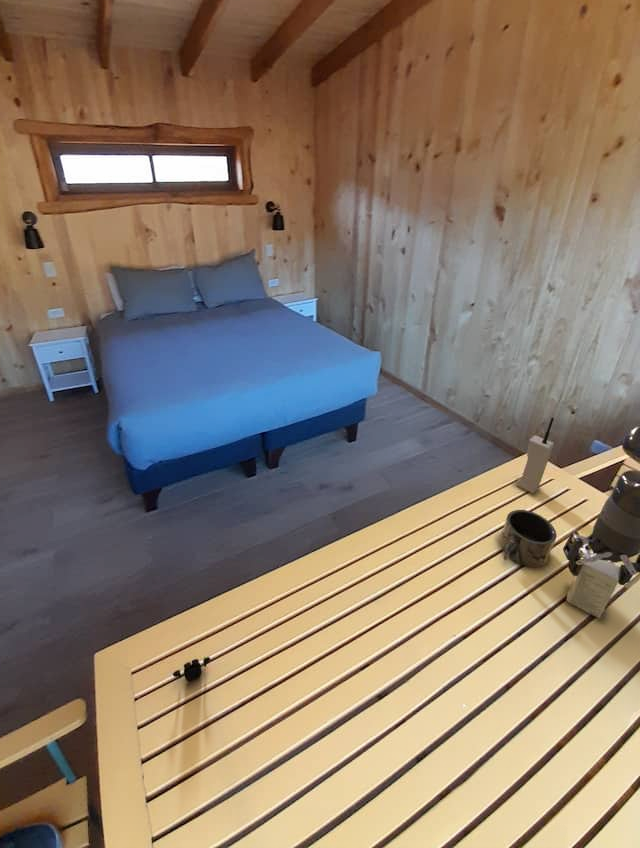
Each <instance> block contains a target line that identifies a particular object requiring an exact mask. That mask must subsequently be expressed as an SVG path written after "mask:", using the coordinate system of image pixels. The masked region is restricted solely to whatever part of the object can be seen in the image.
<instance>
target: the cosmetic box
mask: <svg viewBox="0 0 640 848" xmlns="http://www.w3.org/2000/svg"><path fill="white" fill-rule="evenodd" d="M590 554H591V555H593V554H594V553H591V552H590ZM620 569H621V567H620V565H618V564H615V563H614V562H612V561H607V560H600V559H599V560H597V561H595V562H590V561H589V562H586V563H584V564H582V567H581V570H580V572H579V574H578V576H573V580H572V582H571V584H570V586H569V589H568V593H567V596H566V602H567V603H569V604H571V605H573V606H574V607H577V608H579V609H580V610H582V611H584V612H586V613H588V614H590V615H592V616H594V617H596V618H597V619H601V617H602V616H603V613H604V612H605V609H606V607H607V605H608V604H609V601H610V600H611V598H612V595H613V593H614V592H615V589H616V587H617V585H618V584H619V583H618V581H619V577H620Z"/></svg>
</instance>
